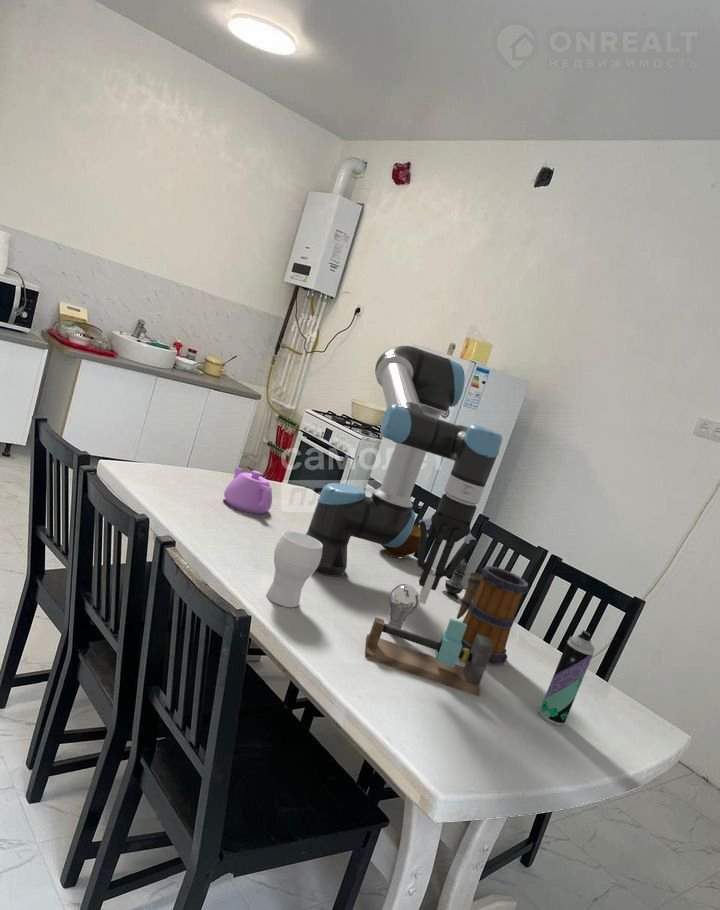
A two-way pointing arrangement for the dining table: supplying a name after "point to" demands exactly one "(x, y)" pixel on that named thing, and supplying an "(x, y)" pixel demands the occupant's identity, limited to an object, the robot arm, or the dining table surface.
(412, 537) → the bowl
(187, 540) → the dining table surface
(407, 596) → the light bulb
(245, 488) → the teapot
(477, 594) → the mug
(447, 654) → the sleeve
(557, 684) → the spray can
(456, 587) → the salt shaker
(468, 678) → the wooden axle stand
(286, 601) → the cup
